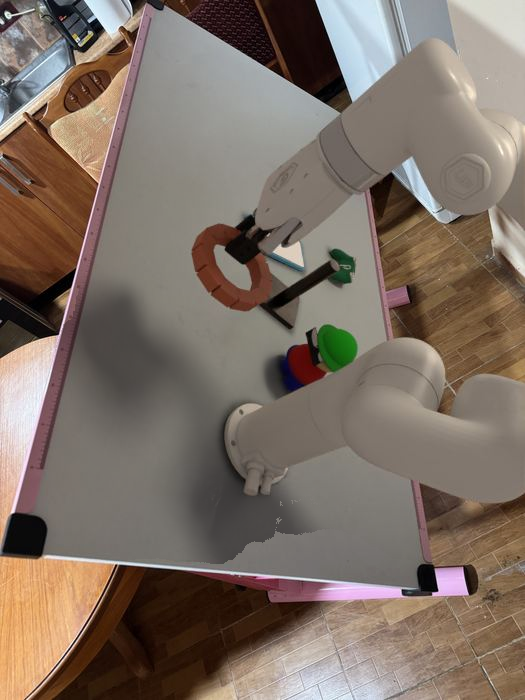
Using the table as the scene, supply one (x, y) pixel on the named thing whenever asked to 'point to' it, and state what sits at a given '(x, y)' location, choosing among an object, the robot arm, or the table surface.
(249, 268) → the ring
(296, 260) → the smartphone
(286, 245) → the robot arm
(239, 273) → the table surface
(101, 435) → the table surface
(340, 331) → the toy
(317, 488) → the table surface
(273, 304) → the post
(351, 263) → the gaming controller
